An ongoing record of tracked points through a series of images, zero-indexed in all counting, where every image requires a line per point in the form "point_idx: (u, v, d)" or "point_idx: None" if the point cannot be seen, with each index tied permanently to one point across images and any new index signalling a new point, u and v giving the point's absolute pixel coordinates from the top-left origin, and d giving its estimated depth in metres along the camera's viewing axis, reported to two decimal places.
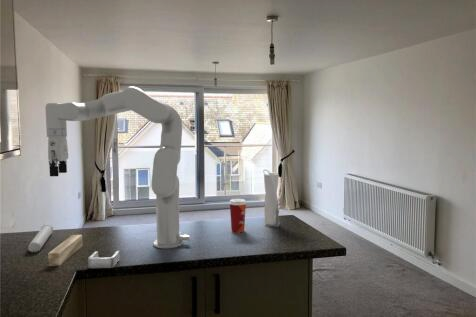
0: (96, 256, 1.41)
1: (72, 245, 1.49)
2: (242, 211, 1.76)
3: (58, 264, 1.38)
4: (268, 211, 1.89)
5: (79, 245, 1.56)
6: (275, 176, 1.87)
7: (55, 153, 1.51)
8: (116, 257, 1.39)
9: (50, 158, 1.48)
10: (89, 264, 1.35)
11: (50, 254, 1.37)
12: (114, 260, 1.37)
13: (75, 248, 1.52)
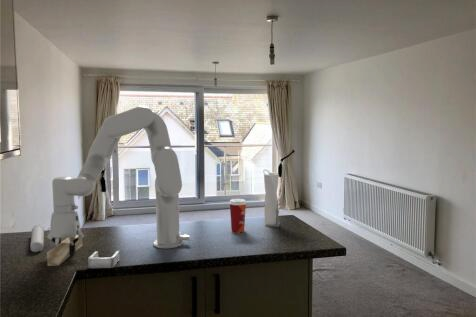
0: (96, 256, 1.41)
1: None
2: (242, 211, 1.76)
3: (57, 263, 1.38)
4: (268, 211, 1.89)
5: (79, 244, 1.56)
6: (275, 176, 1.87)
7: None
8: (116, 257, 1.39)
9: None
10: (89, 264, 1.35)
11: (49, 253, 1.37)
12: (114, 260, 1.37)
13: None
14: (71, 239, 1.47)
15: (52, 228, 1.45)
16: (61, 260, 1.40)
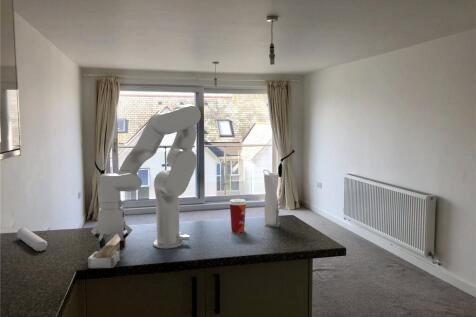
0: (96, 256, 1.41)
1: (118, 245, 1.49)
2: (242, 211, 1.76)
3: None
4: (268, 211, 1.89)
5: None
6: (275, 176, 1.87)
7: None
8: (116, 257, 1.39)
9: None
10: (89, 264, 1.35)
11: (99, 254, 1.38)
12: (114, 260, 1.37)
13: None
14: (120, 234, 1.47)
15: (99, 224, 1.46)
16: None
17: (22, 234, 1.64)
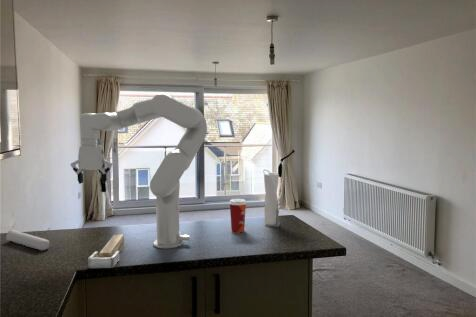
0: (96, 256, 1.41)
1: (118, 245, 1.50)
2: (242, 211, 1.76)
3: None
4: (268, 211, 1.89)
5: (122, 245, 1.57)
6: (275, 176, 1.87)
7: None
8: (116, 257, 1.39)
9: (111, 165, 1.60)
10: (89, 264, 1.35)
11: (101, 254, 1.38)
12: (114, 260, 1.37)
13: (119, 248, 1.52)
14: (101, 169, 1.58)
15: (80, 160, 1.57)
16: None
17: (15, 236, 1.61)
